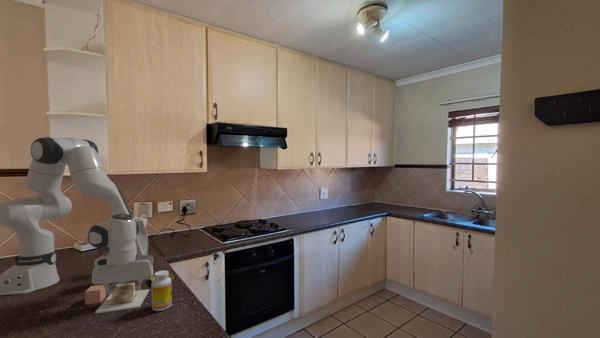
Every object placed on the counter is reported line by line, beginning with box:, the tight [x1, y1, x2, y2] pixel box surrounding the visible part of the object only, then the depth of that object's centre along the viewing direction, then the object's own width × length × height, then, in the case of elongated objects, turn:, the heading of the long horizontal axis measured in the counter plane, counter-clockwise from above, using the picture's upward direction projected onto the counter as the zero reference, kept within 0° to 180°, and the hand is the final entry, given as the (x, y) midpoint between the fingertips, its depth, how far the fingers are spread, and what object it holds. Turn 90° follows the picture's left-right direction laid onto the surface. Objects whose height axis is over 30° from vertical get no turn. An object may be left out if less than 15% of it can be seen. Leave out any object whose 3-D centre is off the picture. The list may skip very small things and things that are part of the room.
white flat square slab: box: [94, 288, 150, 315], centre depth 105 cm, size 14×14×1 cm
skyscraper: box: [134, 214, 149, 255], centre depth 137 cm, size 8×8×28 cm
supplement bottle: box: [151, 269, 173, 312], centre depth 100 cm, size 7×7×13 cm
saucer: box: [149, 272, 175, 283], centre depth 123 cm, size 9×9×2 cm
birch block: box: [112, 282, 136, 305], centre depth 105 cm, size 6×6×5 cm
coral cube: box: [84, 284, 107, 306], centre depth 106 cm, size 5×5×5 cm
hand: (124, 292), depth 105 cm, fingers open, 8 cm apart
